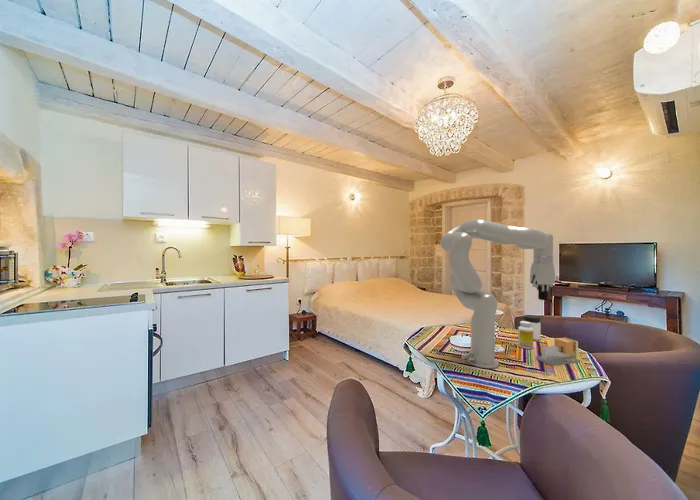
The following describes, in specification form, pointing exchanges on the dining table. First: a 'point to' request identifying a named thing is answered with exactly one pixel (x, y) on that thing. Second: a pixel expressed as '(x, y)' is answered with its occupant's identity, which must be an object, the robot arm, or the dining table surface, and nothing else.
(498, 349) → the dining table surface
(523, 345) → the supplement bottle
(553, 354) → the flange rail
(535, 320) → the jar
